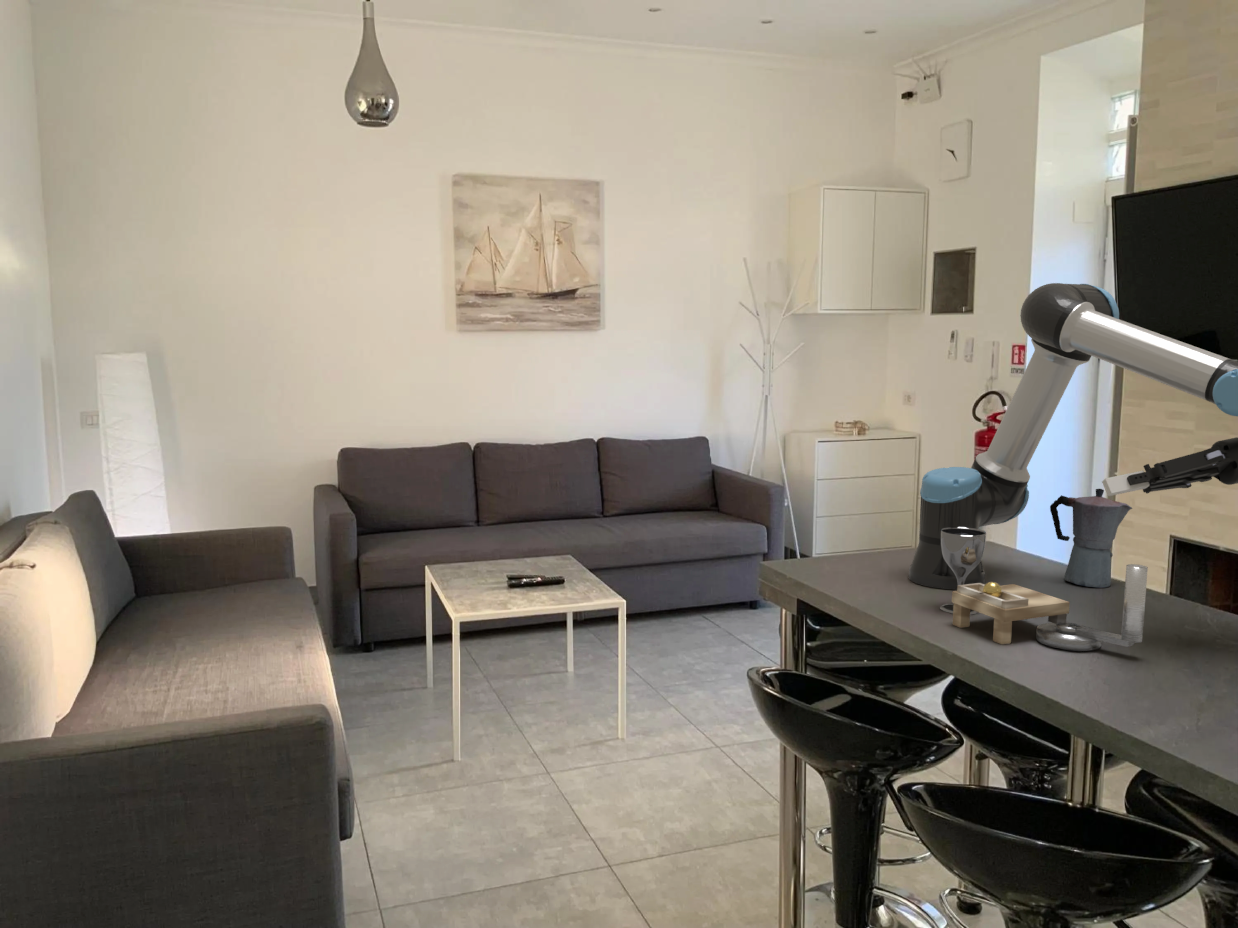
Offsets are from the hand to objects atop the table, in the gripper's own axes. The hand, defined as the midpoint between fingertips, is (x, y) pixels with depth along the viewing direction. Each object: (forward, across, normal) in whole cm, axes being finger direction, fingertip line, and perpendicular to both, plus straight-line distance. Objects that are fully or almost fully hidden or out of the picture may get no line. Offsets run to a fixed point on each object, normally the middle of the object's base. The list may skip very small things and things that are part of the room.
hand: (1106, 487), depth 165 cm
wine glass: (+21, +28, -10) cm, 36 cm away
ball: (+20, +12, -10) cm, 25 cm away
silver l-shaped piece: (+9, +9, -23) cm, 27 cm away
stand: (+18, +17, -17) cm, 30 cm away
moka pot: (-12, +47, -6) cm, 49 cm away
